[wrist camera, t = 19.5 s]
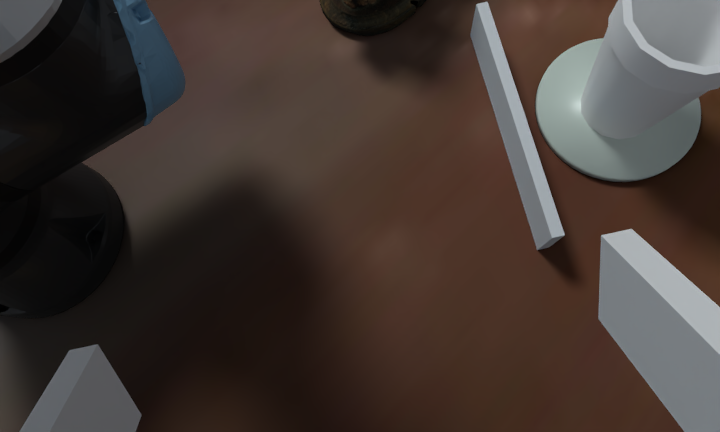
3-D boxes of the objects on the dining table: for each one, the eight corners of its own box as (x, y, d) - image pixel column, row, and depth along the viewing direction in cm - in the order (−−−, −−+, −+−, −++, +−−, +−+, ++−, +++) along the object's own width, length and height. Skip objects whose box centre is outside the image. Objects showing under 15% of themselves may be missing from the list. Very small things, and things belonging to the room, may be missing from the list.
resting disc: (502, 102, 47) (504, 98, 46) (612, 16, 48) (616, 11, 47) (615, 213, 43) (619, 210, 42) (730, 117, 44) (736, 112, 44)
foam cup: (694, 102, 44) (807, 2, 32) (630, 176, 43) (722, 101, 30) (604, 42, 47) (676, -73, 34) (541, 110, 45) (591, 16, 33)
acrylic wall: (470, 35, 49) (476, 4, 45) (480, 32, 49) (487, 1, 45) (537, 250, 43) (551, 237, 38) (548, 247, 43) (564, 235, 38)
